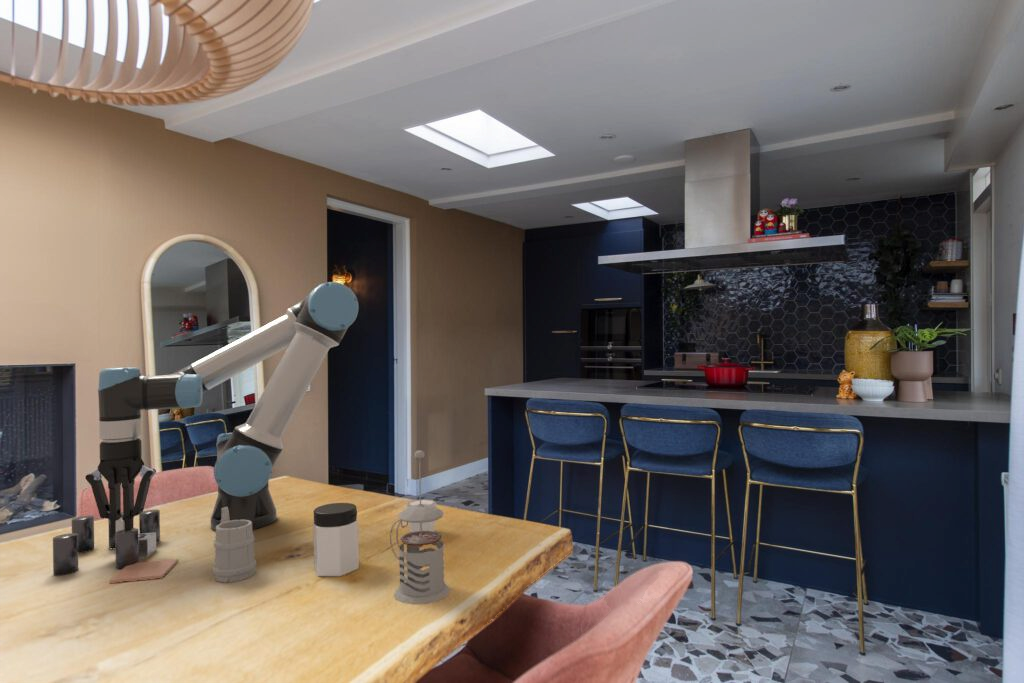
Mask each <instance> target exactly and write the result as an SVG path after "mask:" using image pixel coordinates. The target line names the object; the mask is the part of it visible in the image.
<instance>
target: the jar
mask: <svg viewBox="0 0 1024 683" xmlns="http://www.w3.org/2000/svg"><path fill="white" fill-rule="evenodd" d="M312 523H313V526H312V528H313V564H314V567H313V568H314V570H315V573H316V576H317V577H342V576H344V575H347V574H350V573H352V572H355V571H357V570H359V567H360V562H359V561H360V559H359V558H360V556H359V553H360V552H359V549H360V548H359V521H358V510H357V505H356V504H354V503H351V502H333V503H328V504H327V503H326V504H323V505H320V506H317V507H315V508H314V510H313V522H312Z"/></svg>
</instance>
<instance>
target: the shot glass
mask: <svg viewBox="0 0 1024 683" xmlns="http://www.w3.org/2000/svg"><path fill="white" fill-rule="evenodd" d="M418 504H420V499H416V500H411V501H409V502H407V503H406V508H408V507H411V506H413V505H418ZM421 504H427V505H432V506H435V507H436V508H437V501H436V500H433V499H421ZM408 526H409V533H410V532H414V531H420V523H410V522H408ZM435 527H436V520H435V521H432V522H426V523H422V531H432V532H433V531H435ZM435 532H436V531H435Z"/></svg>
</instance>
